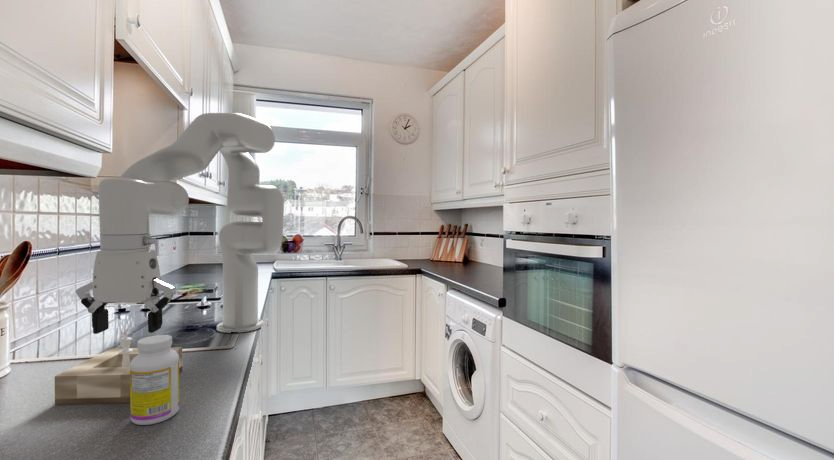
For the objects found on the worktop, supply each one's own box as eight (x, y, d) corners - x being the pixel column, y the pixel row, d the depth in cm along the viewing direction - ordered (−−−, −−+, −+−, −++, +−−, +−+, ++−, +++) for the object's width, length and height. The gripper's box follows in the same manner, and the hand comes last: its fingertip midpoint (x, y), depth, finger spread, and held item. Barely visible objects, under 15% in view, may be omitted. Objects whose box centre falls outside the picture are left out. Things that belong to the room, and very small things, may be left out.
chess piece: (124, 387, 70) (123, 333, 70) (102, 384, 71) (102, 331, 71) (148, 376, 75) (148, 326, 74) (127, 374, 76) (127, 324, 75)
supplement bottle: (153, 404, 66) (153, 331, 65) (188, 407, 65) (188, 333, 65) (119, 425, 59) (118, 344, 59) (158, 428, 58) (157, 346, 58)
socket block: (111, 372, 79) (111, 348, 79) (182, 370, 80) (182, 347, 80) (54, 404, 65) (54, 376, 65) (141, 402, 66) (141, 374, 66)
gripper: (183, 241, 77) (185, 324, 78) (91, 241, 75) (94, 325, 76) (162, 245, 69) (164, 336, 70) (59, 245, 67) (63, 338, 68)
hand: (128, 331), depth 73 cm, fingers open, 9 cm apart
